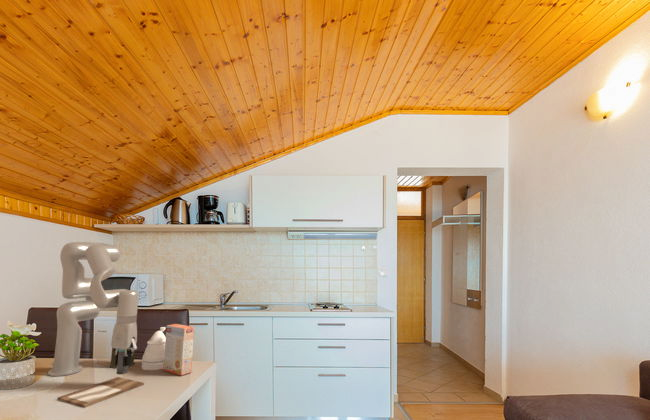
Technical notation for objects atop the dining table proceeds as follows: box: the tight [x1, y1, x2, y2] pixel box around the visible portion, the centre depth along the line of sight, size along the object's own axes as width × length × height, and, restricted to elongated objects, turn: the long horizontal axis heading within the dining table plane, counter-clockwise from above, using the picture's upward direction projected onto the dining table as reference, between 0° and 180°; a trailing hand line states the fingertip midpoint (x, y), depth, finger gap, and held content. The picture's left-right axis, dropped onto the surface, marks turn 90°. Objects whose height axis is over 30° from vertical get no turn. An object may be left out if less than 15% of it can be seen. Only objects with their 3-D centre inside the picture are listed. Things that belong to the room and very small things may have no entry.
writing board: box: [56, 376, 145, 409], centre depth 135 cm, size 16×24×1 cm, turn 157°
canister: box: [109, 346, 136, 369], centre depth 169 cm, size 11×10×20 cm
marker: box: [116, 349, 129, 375], centre depth 143 cm, size 4×4×12 cm
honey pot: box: [141, 326, 167, 371], centre depth 168 cm, size 13×13×18 cm
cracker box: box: [162, 323, 195, 376], centre depth 161 cm, size 14×6×21 cm, turn 58°
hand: (122, 364), depth 143 cm, fingers closed on marker, 4 cm apart
